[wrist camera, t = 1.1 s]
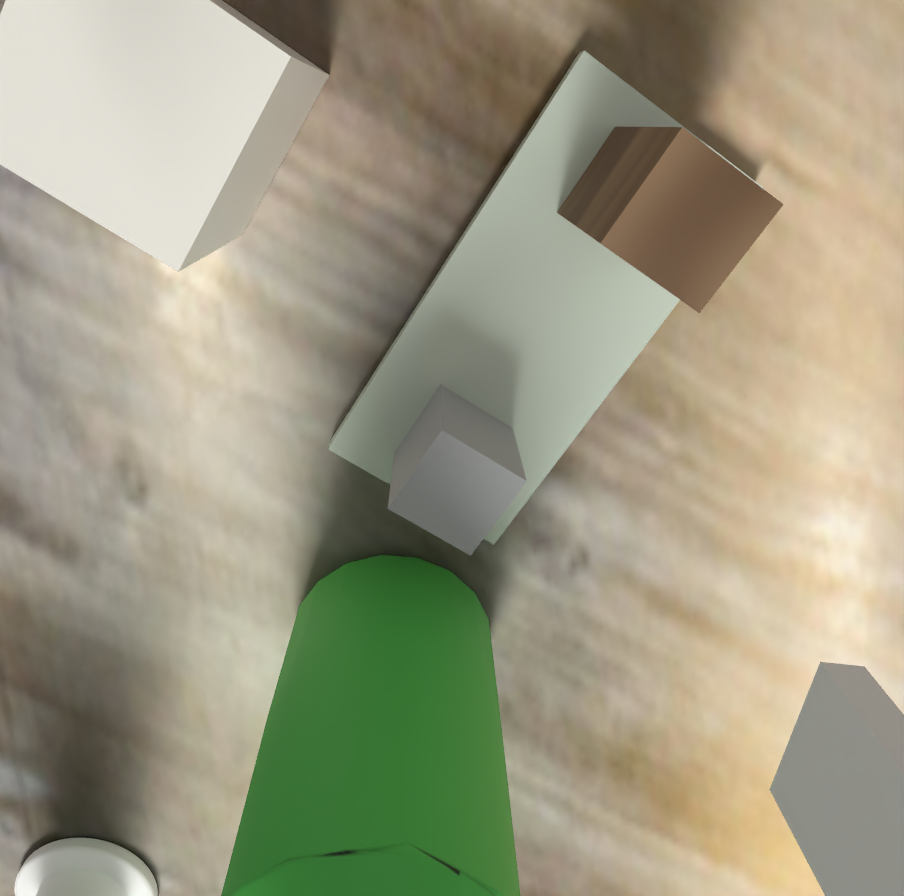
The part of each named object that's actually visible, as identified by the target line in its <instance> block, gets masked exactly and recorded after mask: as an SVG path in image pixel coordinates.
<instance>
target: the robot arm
mask: <svg viewBox="0 0 904 896" xmlns="http://www.w3.org/2000/svg"><path fill="white" fill-rule="evenodd" d="M770 791H771V793H772V795H773V797H774V799H775V801H776V803H777V804H778V806H779V808H780V810H781V812H782V814H783V816H784V818H785V820H786V822H787V824H788V825H789V827H790V829H791V831H792V833H793V835H794V837H795V839H796V841H797V843H798V845H799V846H800V848H801V850H802V852H803V854H804V856H805V858H806V860H807V862H808V864H809V866H810V868H811V869H812V871H813V873H814V875H815V877H816V879H817V881H818V883H819V885H820V887H821V889H822V890H823V892H824V894H825V896H904V715H903V713H902V712H901V711H900V710H899V709H898V707H897V706H896V705H895V704H894V702H893V701H892V700H891V699H890V697H889V696H888V695H887V694H886V693H885V691H884V690H883V689H882V688H881V686H880V685H879V684H878V683H877V681H876V680H875V679H874V678H873V677H872V675H871V674H870V673H869V672H868V670H867V669H866V668H865V667H863V666H854V665H844V664H835V663H825V662H820V664H819V667H818V669H817V672H816V674H815V677H814V679H813V682H812V684H811V687H810V689H809V692H808V694H807V697H806V699H805V702H804V705H803V707H802V710H801V712H800V715H799V717H798V720H797V722H796V725H795V727H794V730H793V732H792V735H791V737H790V740H789V742H788V745H787V747H786V750H785V752H784V755H783V757H782V760H781V762H780V765H779V767H778V770H777V772H776V775H775V777H774V780H773V782H772V785H771V787H770Z"/></svg>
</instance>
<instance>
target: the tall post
mask: <svg viewBox="0 0 904 896" xmlns="http://www.w3.org/2000/svg"><path fill="white" fill-rule="evenodd" d="M782 206H783V204H782V203H781V202H780V201H778V200H777V199H776V198H774V197H773V196H772V195H770V194H769V193H768V192H767V191H765V190H764V189H763V188H761V187H760V186H759V185H757V184H756V183H755V182H753V181H752V180H751V179H750V178H748V177H747V176H746V175H744V174H743V173H742V172H740V171H739V170H738V169H736V168H735V167H734V166H733V165H731V164H730V163H729V162H727V161H726V160H725V159H723V158H722V157H721V156H720V155H718V154H717V153H716V152H714V151H713V150H712V149H710V148H709V147H708V146H706V145H705V144H704V143H703V142H701V141H700V140H699V139H697V138H696V137H695V136H693V135H692V134H691V133H689V132H688V131H687V130H686V129H684V128H683V127H614V129H613V130H612V132H611V133H610V135H609V136H608V138H607V139H606V141H605V142H604V144H603V145H602V147H601V148H600V149H599V151H598V152H597V154H596V155H595V157H594V158H593V160H592V161H591V163H590V164H589V166H588V167H587V169H586V170H585V172H584V173H583V175H582V176H581V178H580V179H579V181H578V182H577V183H576V185H575V186H574V188H573V189H572V191H571V192H570V194H569V195H568V197H567V198H566V200H565V201H564V203H563V204H562V206H561V207H560V209H559V210H558V212H557V213H558V214H559V215H561V216H562V217H564V218H565V219H567V220H568V221H569V222H571V223H572V224H574V225H575V226H576V227H578V228H579V229H581V230H582V231H583V232H585V233H586V234H588V235H589V236H590V237H592V238H593V239H595V240H596V241H597V242H599V243H600V244H602V245H603V246H605V247H606V248H607V249H609V250H610V251H612V252H613V253H614V254H616V255H617V256H619V257H620V258H622V259H623V260H624V261H626V262H627V263H629V264H630V265H632V266H633V267H634V268H636V269H637V270H639V271H640V272H642V273H643V274H644V275H646V276H647V277H649V278H650V279H651V280H653V281H654V282H656V283H657V284H659V285H660V286H661V287H663V288H664V289H666V290H667V291H669V292H670V293H671V294H673V295H674V296H676V297H677V298H679V299H680V300H681V301H683V302H684V303H686V304H687V305H688V306H690V307H691V308H693V309H694V310H696V311H697V312H698V313H700V312H701V310H702V309H703V308H704V307H705V305H706V304H707V303H708V301H709V300H710V299H711V297H712V296H713V295H714V294H715V292H716V291H717V290H718V288H719V287H720V286H721V285H722V283H723V282H724V281H725V279H726V278H727V277H728V275H729V274H730V273H731V272H732V270H733V269H734V268H735V266H736V265H737V264H738V263H739V261H740V260H741V259H742V257H743V256H744V255H745V253H746V252H747V251H748V250H749V248H750V247H751V246H752V244H753V243H754V242H755V241H756V239H757V238H758V237H759V235H760V234H761V233H762V231H763V230H764V229H765V228H766V226H767V225H768V224H769V222H770V221H771V220H772V219H773V217H774V216H775V215H776V213H777V212H778V211H779V210H780V208H781V207H782Z"/></svg>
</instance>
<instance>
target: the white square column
mask: <svg viewBox="0 0 904 896" xmlns="http://www.w3.org/2000/svg"><path fill="white" fill-rule="evenodd" d="M328 77H329V74H327V73H326V72H324V71H323V70H321V69H320V68H319V67H317V66H316V65H314V64H313V63H311V62H310V61H309V60H307V59H306V58H304V57H303V56H301V55H300V54H298V53H297V52H296V51H294V50H293V49H291V48H290V47H288V46H287V45H286V44H284V43H283V42H281V41H280V40H278V39H277V38H275V37H274V36H273V35H271V34H270V33H268V32H267V31H265V30H264V29H263V28H261V27H260V26H258V25H257V24H255V23H254V22H252V21H251V20H250V19H248V18H247V17H245V16H244V15H242V14H241V13H240V12H238V11H237V10H235V9H234V8H232V7H231V6H229V5H228V4H227V3H225V2H224V1H222V0H6V1H5V4H4V6H3V9H2V11H1V14H0V165H2V166H4V167H5V168H7V169H9V170H10V171H12V172H14V173H15V174H17V175H19V176H20V177H22V178H24V179H25V180H27V181H29V182H30V183H32V184H34V185H35V186H37V187H39V188H40V189H42V190H44V191H45V192H47V193H49V194H50V195H52V196H53V197H55V198H57V199H58V200H60V201H62V202H63V203H65V204H67V205H68V206H70V207H72V208H73V209H75V210H77V211H78V212H80V213H82V214H83V215H85V216H87V217H88V218H90V219H92V220H93V221H95V222H97V223H98V224H100V225H102V226H103V227H105V228H107V229H108V230H110V231H111V232H113V233H115V234H116V235H118V236H120V237H121V238H123V239H125V240H126V241H128V242H130V243H131V244H133V245H135V246H136V247H138V248H140V249H141V250H143V251H145V252H146V253H148V254H150V255H151V256H153V257H155V258H156V259H158V260H160V261H161V262H163V263H165V264H166V265H168V266H169V267H171V268H173V269H174V270H176V271H178V272H179V271H180V270H182V269H184V268H186V267H187V266H189V265H191V264H193V263H194V262H196V261H198V260H200V259H201V258H203V257H205V256H206V255H208V254H210V253H212V252H213V251H215V250H217V249H219V248H220V247H222V246H224V245H226V244H227V243H229V242H231V241H233V240H234V239H236V238H238V237H240V236H241V235H243V233H244V231H245V229H246V228H247V226H248V224H249V222H250V220H251V218H252V217H253V215H254V213H255V211H256V209H257V207H258V205H259V204H260V202H261V200H262V198H263V196H264V194H265V193H266V191H267V189H268V187H269V185H270V183H271V182H272V180H273V178H274V176H275V174H276V172H277V171H278V169H279V167H280V165H281V163H282V161H283V160H284V158H285V156H286V154H287V152H288V150H289V149H290V147H291V145H292V143H293V141H294V139H295V138H296V136H297V134H298V132H299V130H300V128H301V126H302V125H303V123H304V121H305V119H306V117H307V115H308V114H309V112H310V110H311V108H312V106H313V104H314V103H315V101H316V99H317V97H318V95H319V93H320V92H321V90H322V88H323V86H324V84H325V82H326V81H327V79H328Z"/></svg>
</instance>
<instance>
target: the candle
mask: <svg viewBox="0 0 904 896" xmlns="http://www.w3.org/2000/svg"><path fill="white" fill-rule="evenodd" d="M15 896H158V889H157V884H156V881H155V879H154V876H153V874H152V873H151V871H150V870H149V868H148V867H147V866H146V864H145V863H144V862H143V861H142V860H141V859H139V858H138V857H137V856H136V855H134V854H133V853H131V852H130V851H128V850H126V849H125V848H123V847H120V846H118V845H116V844H113V843H110V842H107V841H103V840H99V839H93V838H67V839H61V840H57V841H54V842H51V843H49V844H46V845H44V846H42V847H40V848H39V849H37V850H36V851H34V852H33V853H32V854H31V855H30V856H29V857H28V858H27V859H26V861H25V862H24V864H23V865H22V867H21V869H20V871H19V873H18V875H17V877H16V881H15Z"/></svg>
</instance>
